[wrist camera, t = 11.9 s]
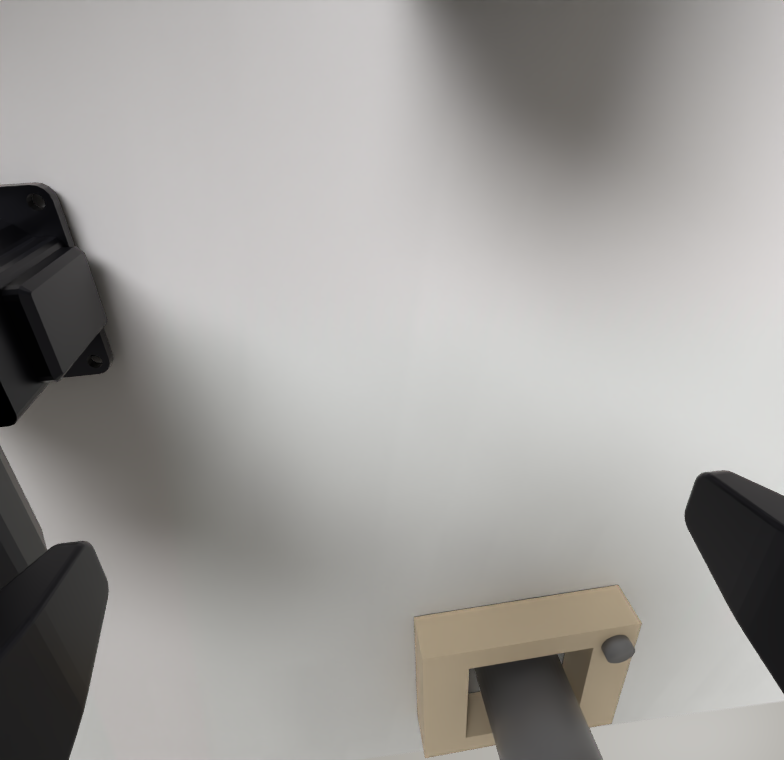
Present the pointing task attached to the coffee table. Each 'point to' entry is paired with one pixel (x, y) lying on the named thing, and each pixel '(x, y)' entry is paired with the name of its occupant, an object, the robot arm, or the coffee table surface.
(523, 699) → the canister
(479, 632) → the tan square frame
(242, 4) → the coffee table surface
